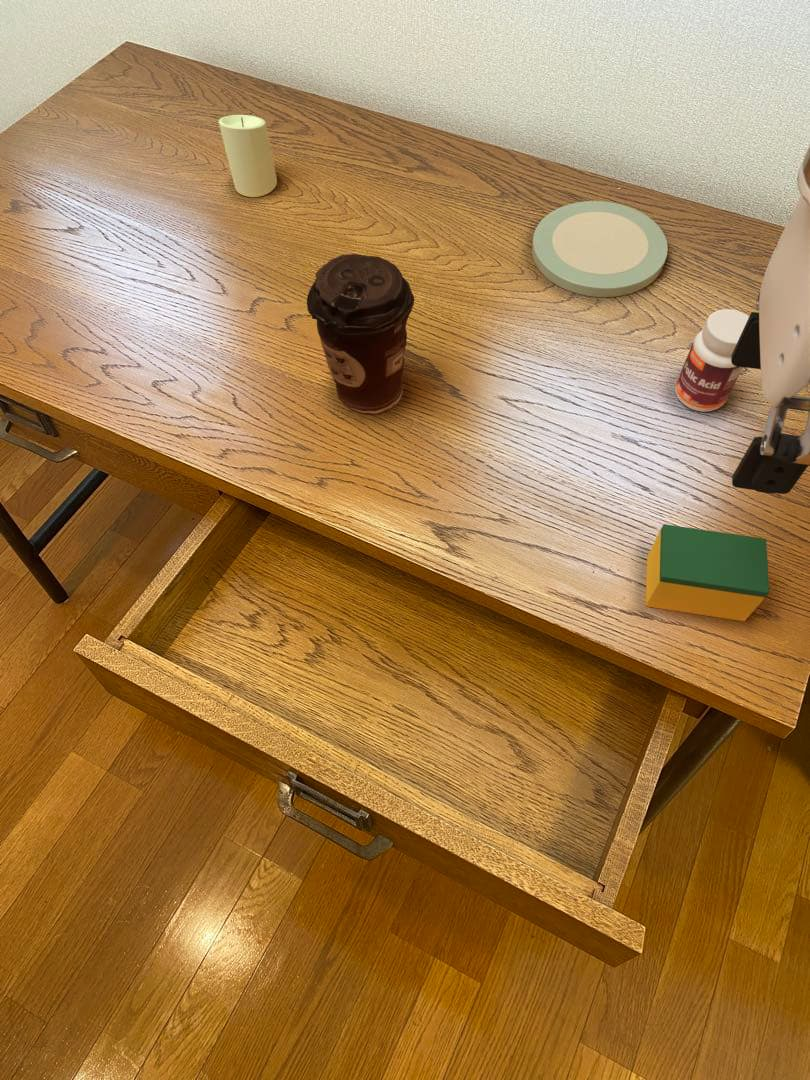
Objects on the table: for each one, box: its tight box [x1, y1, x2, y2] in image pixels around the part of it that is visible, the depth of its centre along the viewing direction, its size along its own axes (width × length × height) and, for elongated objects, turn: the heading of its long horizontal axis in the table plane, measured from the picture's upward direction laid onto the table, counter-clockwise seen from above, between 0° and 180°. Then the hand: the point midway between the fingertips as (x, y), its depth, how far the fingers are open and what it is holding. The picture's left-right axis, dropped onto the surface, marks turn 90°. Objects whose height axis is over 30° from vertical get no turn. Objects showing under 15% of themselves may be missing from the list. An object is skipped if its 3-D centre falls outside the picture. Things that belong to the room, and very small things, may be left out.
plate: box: [531, 200, 669, 298], centre depth 79 cm, size 14×14×1 cm
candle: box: [217, 114, 278, 198], centre depth 84 cm, size 5×5×8 cm
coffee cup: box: [306, 253, 415, 415], centre depth 65 cm, size 9×8×13 cm
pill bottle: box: [674, 308, 750, 413], centre depth 65 cm, size 5×5×8 cm
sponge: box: [645, 523, 770, 622], centre depth 57 cm, size 8×5×5 cm, turn 79°
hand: (757, 422), depth 46 cm, fingers open, 9 cm apart
